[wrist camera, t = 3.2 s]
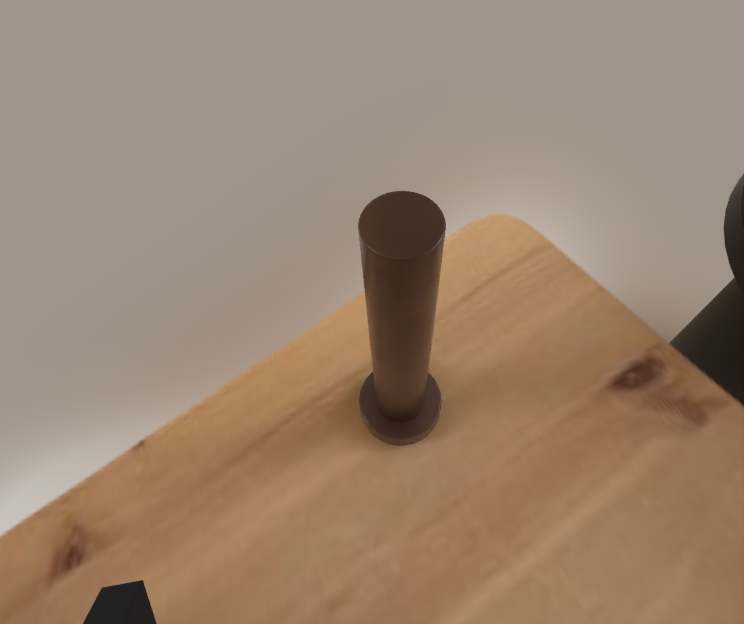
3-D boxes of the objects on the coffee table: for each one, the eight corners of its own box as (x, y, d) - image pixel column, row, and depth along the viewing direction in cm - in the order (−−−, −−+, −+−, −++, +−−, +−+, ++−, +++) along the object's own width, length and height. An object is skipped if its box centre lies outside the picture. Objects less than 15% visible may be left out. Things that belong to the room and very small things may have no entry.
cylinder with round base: (422, 359, 31) (441, 153, 17) (452, 429, 29) (502, 258, 15) (350, 384, 31) (310, 191, 17) (375, 456, 28) (354, 306, 15)
